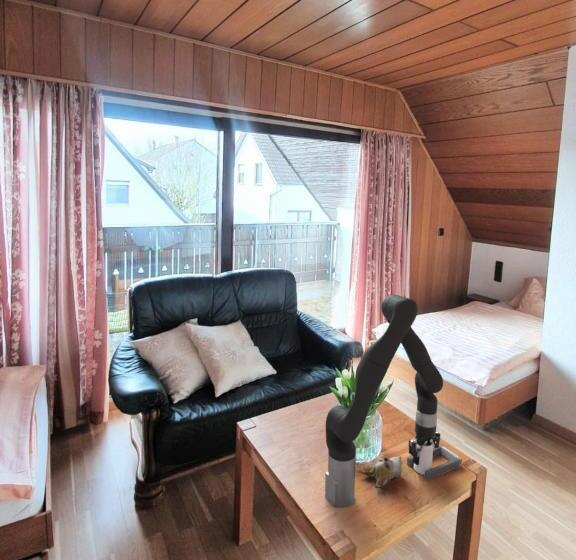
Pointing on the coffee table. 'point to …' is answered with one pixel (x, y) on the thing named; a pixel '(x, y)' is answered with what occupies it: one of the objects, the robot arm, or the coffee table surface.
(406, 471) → the coffee table surface
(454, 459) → the frame
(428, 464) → the can
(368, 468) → the ceramic sculpture
